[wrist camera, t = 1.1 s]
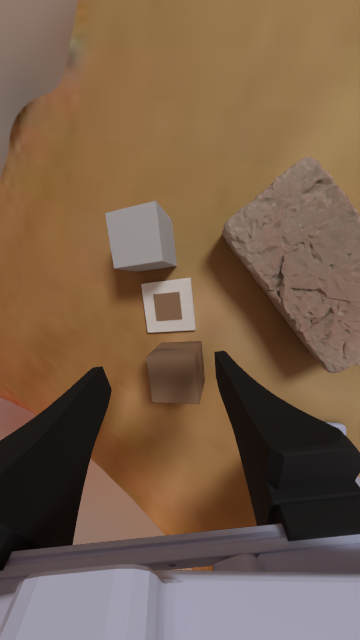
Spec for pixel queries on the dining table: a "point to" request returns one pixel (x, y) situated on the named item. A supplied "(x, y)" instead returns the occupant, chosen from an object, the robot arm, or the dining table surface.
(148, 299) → the card
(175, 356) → the walnut block
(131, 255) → the grey block
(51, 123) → the dining table surface
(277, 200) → the brick
